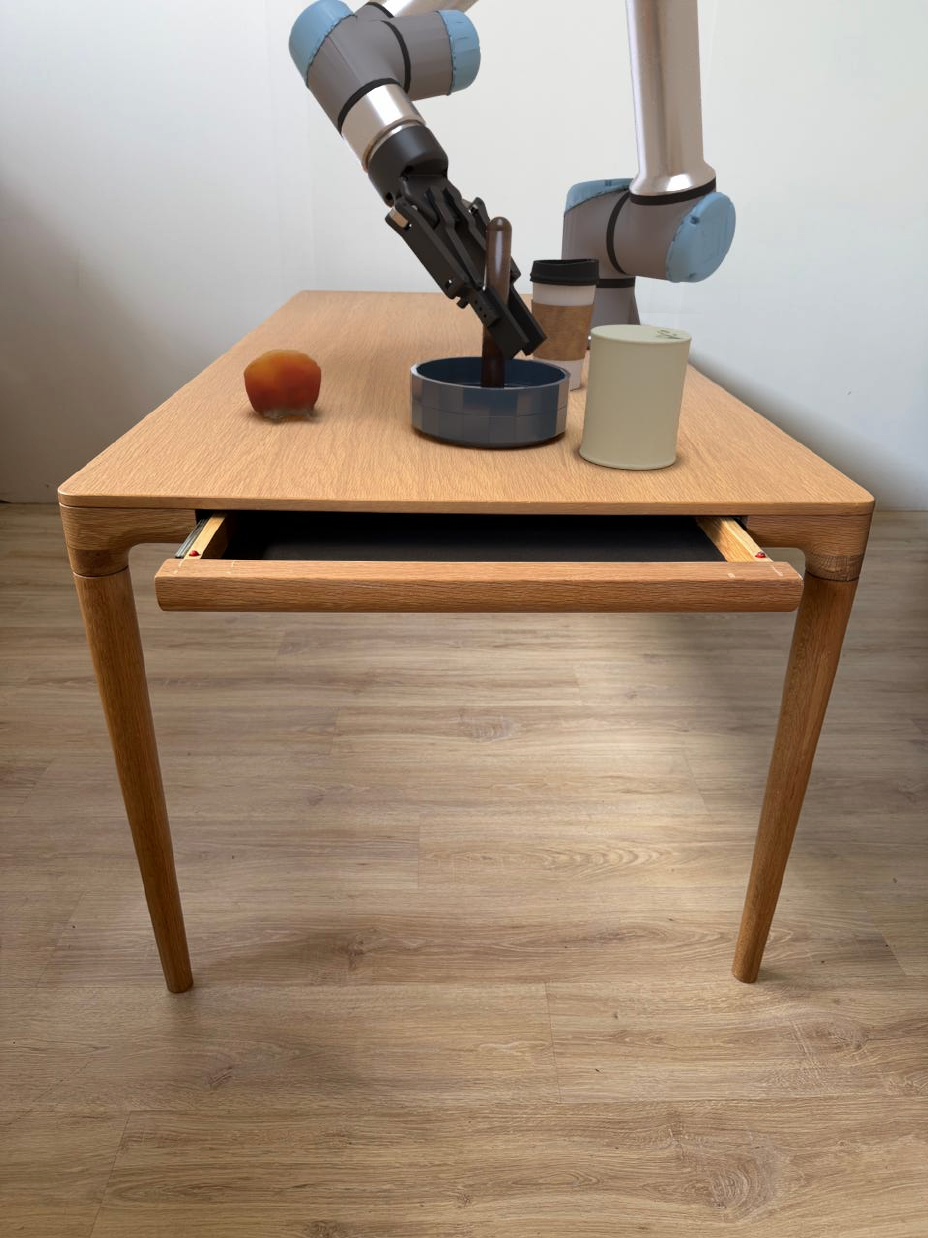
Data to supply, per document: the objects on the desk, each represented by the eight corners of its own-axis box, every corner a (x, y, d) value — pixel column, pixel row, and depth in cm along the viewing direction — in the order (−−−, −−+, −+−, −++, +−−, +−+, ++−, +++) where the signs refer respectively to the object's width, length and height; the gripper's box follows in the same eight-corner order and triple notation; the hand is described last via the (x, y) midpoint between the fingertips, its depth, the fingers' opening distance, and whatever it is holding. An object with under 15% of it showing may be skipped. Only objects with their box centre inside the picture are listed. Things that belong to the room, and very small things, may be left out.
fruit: (264, 417, 91) (247, 339, 92) (248, 440, 99) (233, 368, 99) (340, 411, 95) (324, 335, 95) (320, 433, 102) (305, 363, 102)
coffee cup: (587, 395, 112) (599, 263, 105) (518, 389, 113) (525, 259, 106) (592, 381, 119) (604, 257, 112) (527, 376, 120) (535, 253, 114)
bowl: (547, 410, 104) (551, 356, 101) (582, 450, 90) (588, 388, 87) (405, 410, 102) (405, 355, 99) (417, 451, 88) (418, 388, 85)
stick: (500, 407, 97) (509, 214, 88) (524, 418, 93) (536, 218, 84) (458, 411, 95) (463, 214, 86) (481, 423, 91) (489, 217, 82)
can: (654, 476, 83) (672, 339, 78) (562, 458, 87) (573, 327, 82) (689, 453, 90) (707, 326, 85) (602, 437, 94) (615, 315, 89)
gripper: (426, 180, 98) (546, 362, 97) (322, 179, 87) (455, 384, 85) (467, 124, 93) (595, 315, 91) (362, 116, 82) (505, 333, 80)
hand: (527, 348), depth 88 cm, fingers closed on stick, 2 cm apart
